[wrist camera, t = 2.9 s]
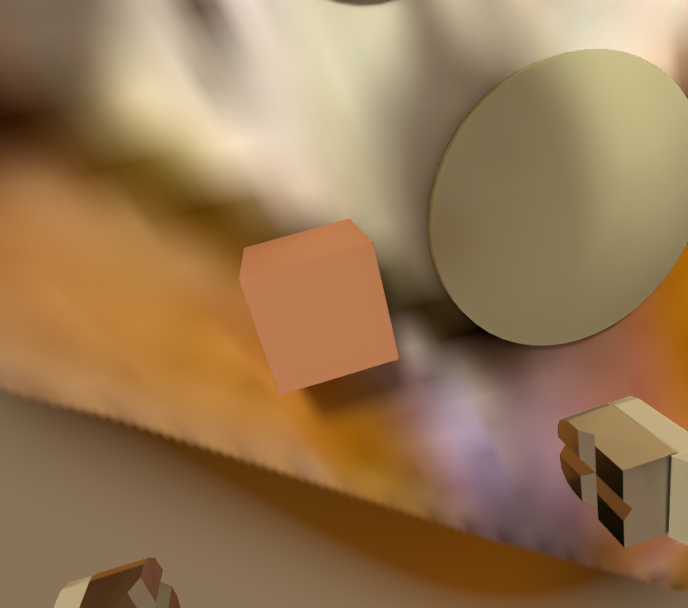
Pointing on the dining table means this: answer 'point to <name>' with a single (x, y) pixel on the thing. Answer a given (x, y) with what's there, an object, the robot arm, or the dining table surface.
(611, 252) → the tile
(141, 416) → the dining table surface
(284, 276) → the orange cube
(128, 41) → the dining table surface
